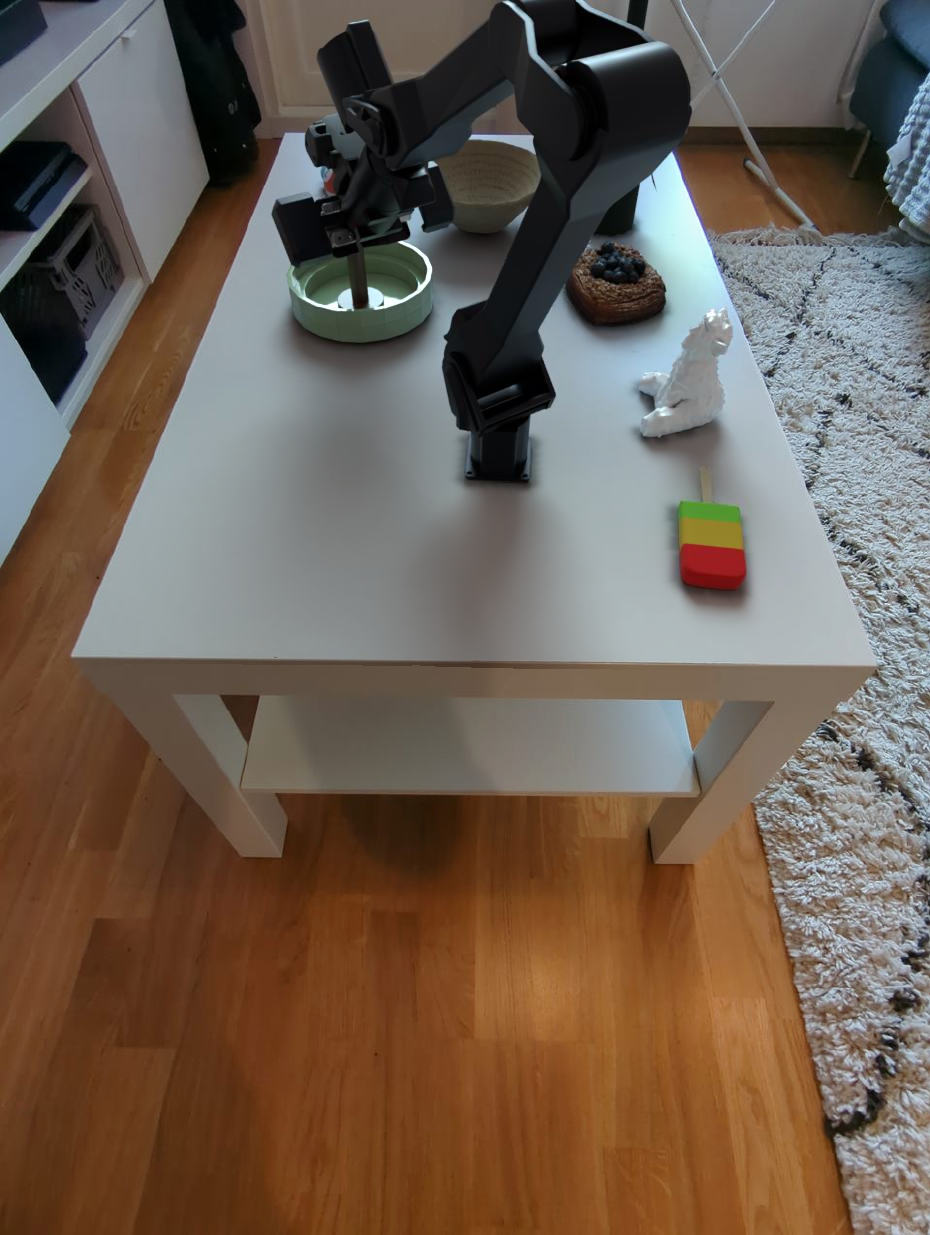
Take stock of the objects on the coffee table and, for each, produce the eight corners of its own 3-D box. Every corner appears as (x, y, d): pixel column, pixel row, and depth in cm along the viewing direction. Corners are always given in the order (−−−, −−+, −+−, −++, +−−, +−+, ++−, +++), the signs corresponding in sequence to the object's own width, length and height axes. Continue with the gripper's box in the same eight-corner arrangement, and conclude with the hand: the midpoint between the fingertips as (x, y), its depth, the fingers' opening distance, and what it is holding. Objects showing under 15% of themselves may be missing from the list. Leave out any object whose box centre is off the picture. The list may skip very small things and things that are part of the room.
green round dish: (425, 350, 87) (423, 314, 84) (280, 343, 88) (272, 308, 84) (439, 272, 98) (438, 238, 94) (309, 267, 98) (303, 233, 95)
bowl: (567, 246, 102) (573, 184, 95) (440, 272, 98) (438, 209, 91) (512, 188, 112) (515, 128, 105) (395, 209, 108) (391, 149, 101)
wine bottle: (654, 235, 103) (712, -49, 79) (581, 236, 103) (617, -48, 79) (644, 208, 108) (696, -68, 84) (574, 209, 108) (606, -67, 84)
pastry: (631, 268, 98) (639, 222, 94) (674, 317, 92) (686, 270, 87) (554, 282, 96) (558, 236, 92) (592, 333, 89) (600, 286, 85)
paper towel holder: (346, 325, 88) (329, 201, 77) (332, 301, 91) (314, 178, 80) (391, 314, 90) (380, 191, 78) (376, 291, 93) (363, 170, 81)
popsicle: (679, 586, 66) (684, 573, 65) (674, 471, 75) (679, 457, 74) (743, 593, 66) (749, 580, 64) (730, 477, 75) (736, 462, 73)
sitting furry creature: (636, 383, 84) (659, 280, 74) (715, 389, 83) (748, 286, 73) (639, 438, 78) (664, 335, 68) (723, 445, 77) (760, 342, 68)
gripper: (439, 72, 72) (396, 155, 87) (256, 110, 67) (243, 192, 81) (480, 191, 74) (431, 252, 89) (305, 237, 69) (284, 294, 83)
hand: (349, 245), depth 86 cm, fingers closed on paper towel holder
